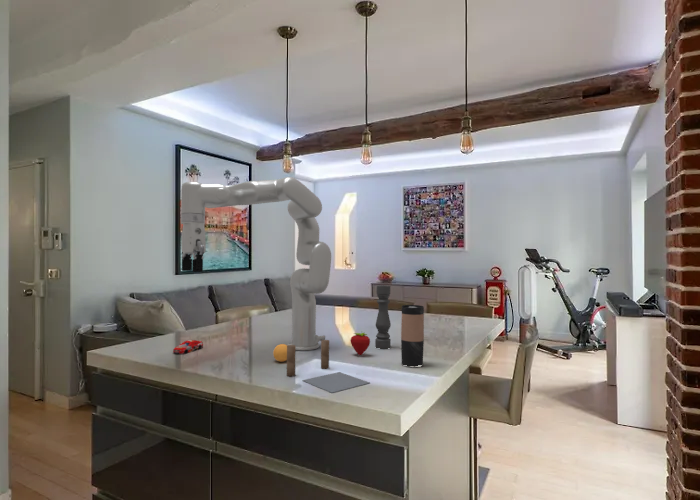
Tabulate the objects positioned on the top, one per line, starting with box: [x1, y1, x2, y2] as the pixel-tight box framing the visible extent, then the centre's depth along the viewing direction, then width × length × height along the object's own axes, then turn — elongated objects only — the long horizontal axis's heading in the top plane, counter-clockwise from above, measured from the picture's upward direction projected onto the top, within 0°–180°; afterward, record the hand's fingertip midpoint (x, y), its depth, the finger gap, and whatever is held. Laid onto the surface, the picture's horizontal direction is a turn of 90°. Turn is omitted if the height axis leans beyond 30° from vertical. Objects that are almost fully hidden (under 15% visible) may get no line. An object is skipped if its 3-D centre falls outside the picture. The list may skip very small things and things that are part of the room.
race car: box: [172, 339, 204, 355], centre depth 158 cm, size 13×5×4 cm, turn 160°
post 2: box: [320, 339, 330, 370], centre depth 136 cm, size 3×3×9 cm
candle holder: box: [374, 284, 392, 350], centre depth 168 cm, size 6×6×25 cm
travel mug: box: [400, 304, 425, 366], centre depth 142 cm, size 8×8×20 cm
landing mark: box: [302, 371, 371, 394], centre depth 121 cm, size 14×14×1 cm
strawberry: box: [350, 332, 371, 356], centre depth 154 cm, size 6×8×10 cm
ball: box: [272, 343, 288, 363], centre depth 144 cm, size 6×6×6 cm
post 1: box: [286, 344, 296, 377], centre depth 127 cm, size 3×3×9 cm
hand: (192, 271), depth 138 cm, fingers open, 9 cm apart
